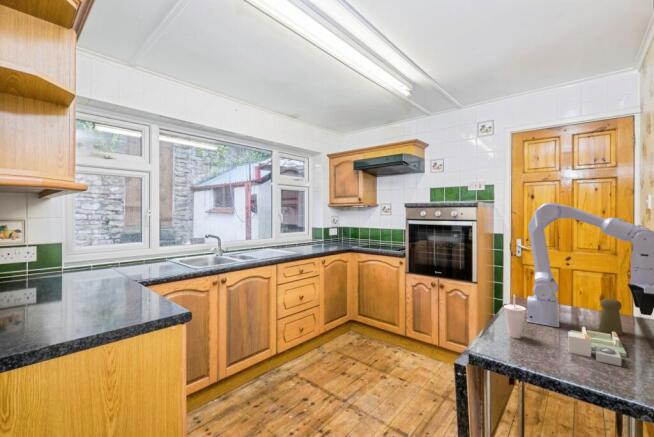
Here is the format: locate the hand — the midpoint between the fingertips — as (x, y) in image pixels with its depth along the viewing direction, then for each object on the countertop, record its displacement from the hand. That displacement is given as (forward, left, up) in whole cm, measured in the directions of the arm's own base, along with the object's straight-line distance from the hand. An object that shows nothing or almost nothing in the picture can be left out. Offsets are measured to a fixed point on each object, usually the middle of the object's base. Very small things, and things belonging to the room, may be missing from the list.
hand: (642, 311), depth 95 cm
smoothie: (-33, -16, -10) cm, 38 cm away
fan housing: (-10, -20, -10) cm, 24 cm away
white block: (-16, -19, -10) cm, 27 cm away
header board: (-12, -9, -10) cm, 18 cm away
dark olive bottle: (-7, +6, -10) cm, 13 cm away
